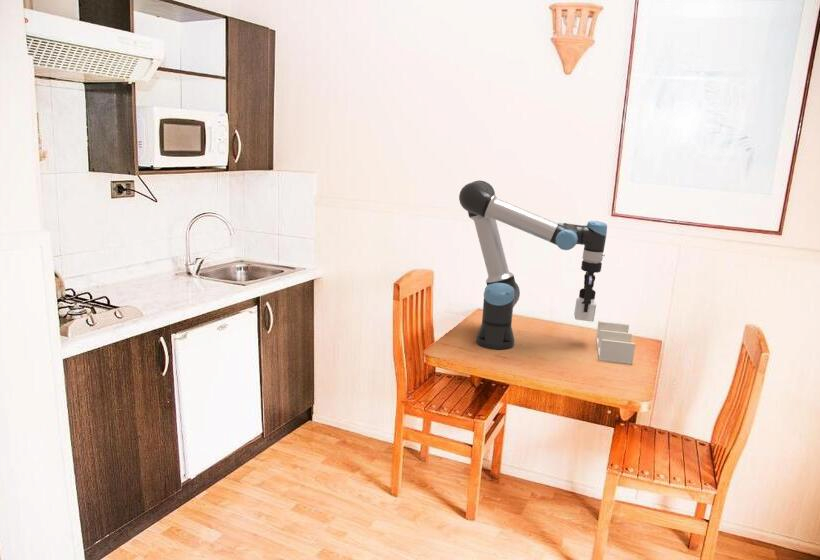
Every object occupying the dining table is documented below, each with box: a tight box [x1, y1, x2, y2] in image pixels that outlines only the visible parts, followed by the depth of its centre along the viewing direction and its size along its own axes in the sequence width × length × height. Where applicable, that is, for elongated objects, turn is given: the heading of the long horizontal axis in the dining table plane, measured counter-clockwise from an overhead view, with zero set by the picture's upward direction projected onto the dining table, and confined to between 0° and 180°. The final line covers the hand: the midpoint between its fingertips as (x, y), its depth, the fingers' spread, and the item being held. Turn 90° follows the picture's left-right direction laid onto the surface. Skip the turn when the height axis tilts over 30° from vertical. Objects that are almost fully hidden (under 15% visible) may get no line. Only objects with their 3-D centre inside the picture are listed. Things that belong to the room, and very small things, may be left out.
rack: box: [595, 320, 636, 365], centre depth 245 cm, size 12×25×8 cm, turn 166°
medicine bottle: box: [573, 287, 597, 323], centre depth 248 cm, size 7×7×12 cm
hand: (583, 316), depth 249 cm, fingers closed on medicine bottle, 7 cm apart
